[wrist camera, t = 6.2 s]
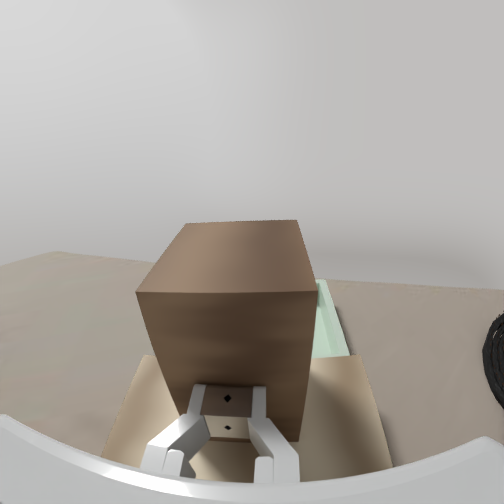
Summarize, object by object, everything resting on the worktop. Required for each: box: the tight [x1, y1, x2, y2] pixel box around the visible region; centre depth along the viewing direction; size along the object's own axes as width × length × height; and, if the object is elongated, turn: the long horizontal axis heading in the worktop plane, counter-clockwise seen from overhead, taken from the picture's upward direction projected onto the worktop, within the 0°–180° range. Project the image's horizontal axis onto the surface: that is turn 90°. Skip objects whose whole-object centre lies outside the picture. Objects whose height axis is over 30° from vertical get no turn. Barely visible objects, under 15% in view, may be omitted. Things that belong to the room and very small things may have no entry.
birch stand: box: [101, 354, 393, 483], centre depth 14 cm, size 16×13×5 cm
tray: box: [311, 279, 350, 358], centre depth 28 cm, size 16×13×3 cm
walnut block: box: [136, 220, 318, 443], centre depth 14 cm, size 6×7×10 cm
